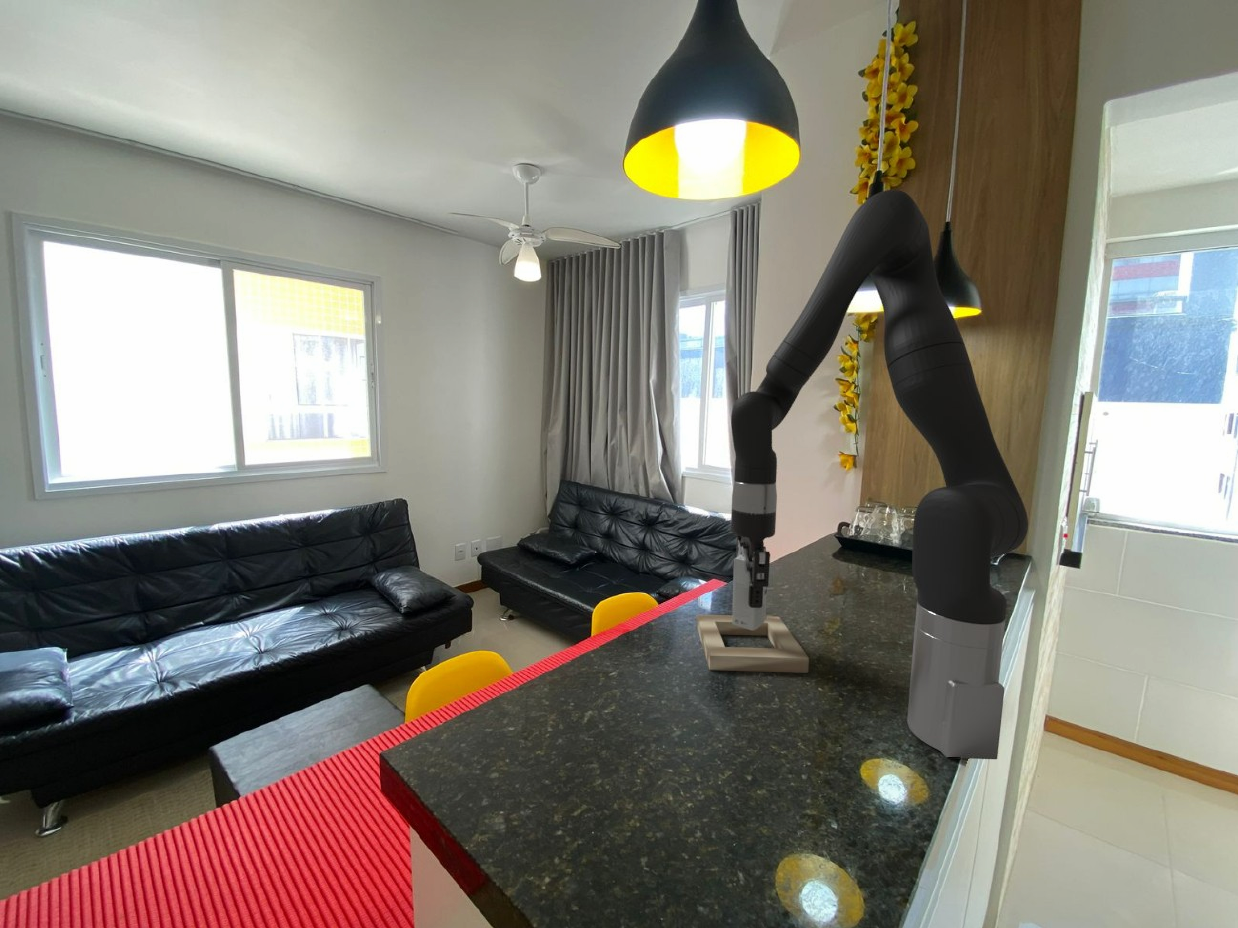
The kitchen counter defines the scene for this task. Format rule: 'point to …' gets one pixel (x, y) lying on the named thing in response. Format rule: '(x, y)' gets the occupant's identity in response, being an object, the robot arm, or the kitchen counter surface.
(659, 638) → the kitchen counter surface
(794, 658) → the socket block
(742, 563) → the skincare box
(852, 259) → the robot arm
